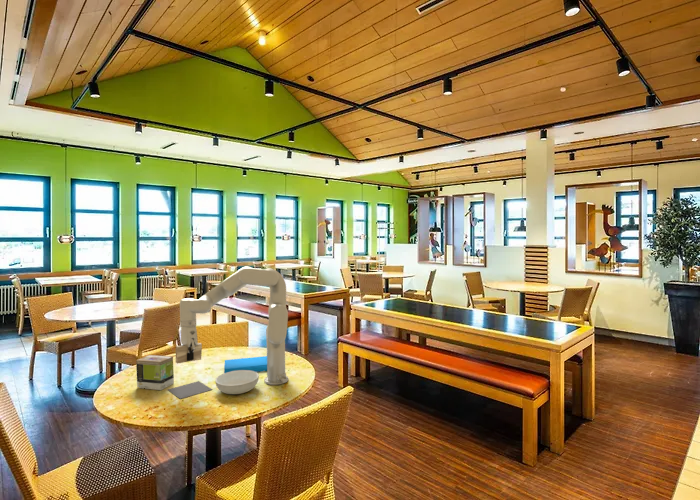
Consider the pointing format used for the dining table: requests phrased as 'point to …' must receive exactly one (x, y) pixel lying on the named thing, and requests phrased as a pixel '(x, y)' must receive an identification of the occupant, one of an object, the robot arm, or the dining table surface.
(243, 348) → the dining table surface
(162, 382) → the tea box
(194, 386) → the mat
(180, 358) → the brown wooden block
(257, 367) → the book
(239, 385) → the serving bowl
